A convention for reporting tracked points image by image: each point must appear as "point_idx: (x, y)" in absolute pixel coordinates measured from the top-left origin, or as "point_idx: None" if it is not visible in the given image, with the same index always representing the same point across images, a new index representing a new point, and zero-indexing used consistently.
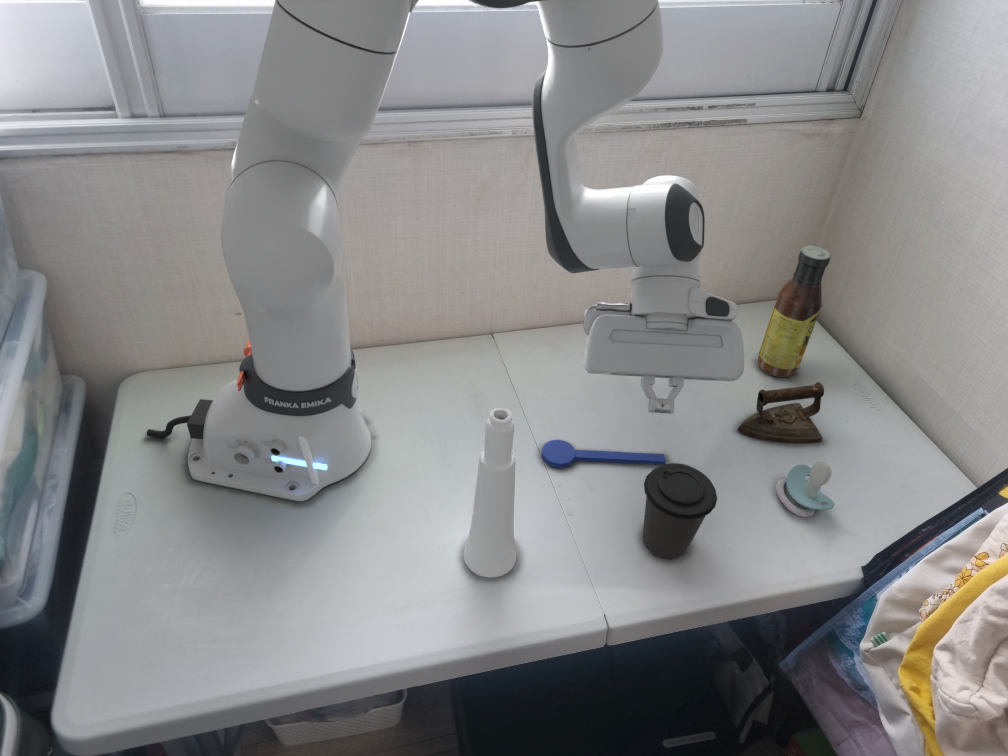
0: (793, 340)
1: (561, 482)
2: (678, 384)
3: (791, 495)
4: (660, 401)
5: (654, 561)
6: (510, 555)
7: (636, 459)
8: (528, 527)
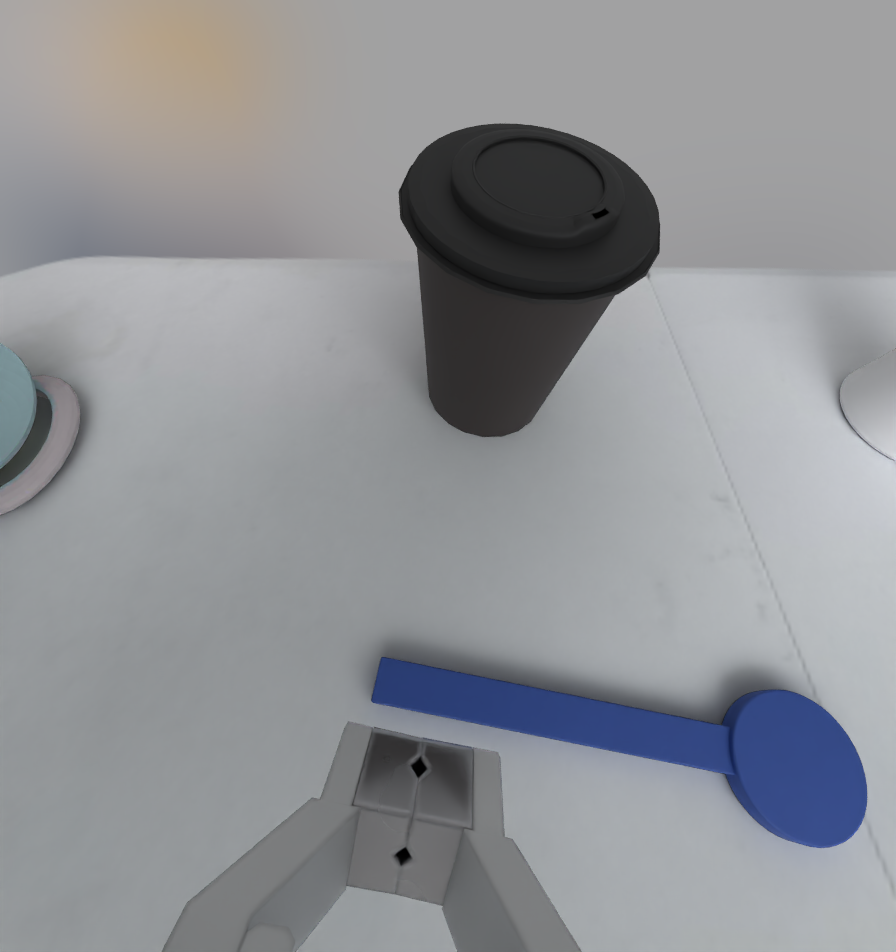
0: None
1: (756, 622)
2: (233, 931)
3: (30, 422)
4: (435, 795)
5: None
6: (888, 355)
7: (493, 683)
8: (827, 477)
